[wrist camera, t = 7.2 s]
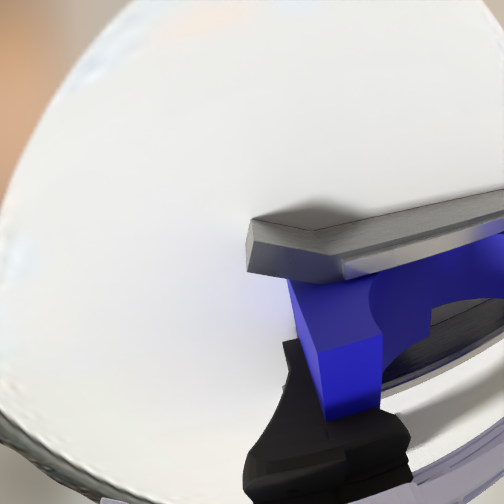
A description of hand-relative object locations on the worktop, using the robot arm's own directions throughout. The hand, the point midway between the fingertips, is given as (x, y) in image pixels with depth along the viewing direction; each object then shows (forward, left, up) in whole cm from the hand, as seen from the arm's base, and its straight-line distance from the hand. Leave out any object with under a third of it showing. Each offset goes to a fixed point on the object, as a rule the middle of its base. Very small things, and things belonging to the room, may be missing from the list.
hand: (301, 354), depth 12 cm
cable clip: (+2, -6, -1) cm, 6 cm away
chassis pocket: (+1, -8, -1) cm, 8 cm away
